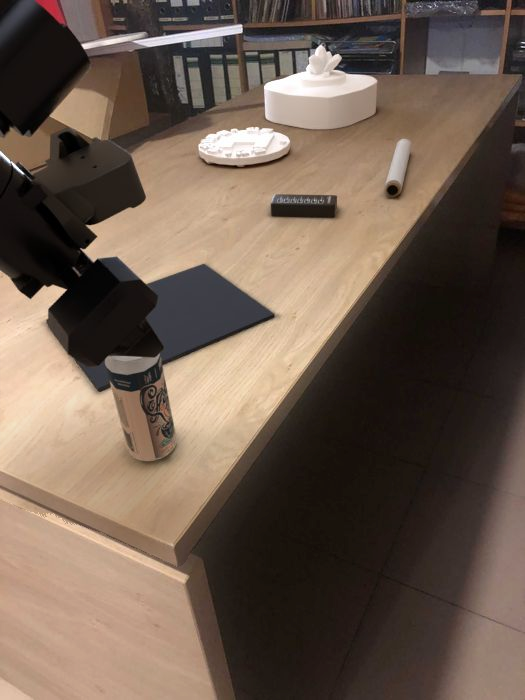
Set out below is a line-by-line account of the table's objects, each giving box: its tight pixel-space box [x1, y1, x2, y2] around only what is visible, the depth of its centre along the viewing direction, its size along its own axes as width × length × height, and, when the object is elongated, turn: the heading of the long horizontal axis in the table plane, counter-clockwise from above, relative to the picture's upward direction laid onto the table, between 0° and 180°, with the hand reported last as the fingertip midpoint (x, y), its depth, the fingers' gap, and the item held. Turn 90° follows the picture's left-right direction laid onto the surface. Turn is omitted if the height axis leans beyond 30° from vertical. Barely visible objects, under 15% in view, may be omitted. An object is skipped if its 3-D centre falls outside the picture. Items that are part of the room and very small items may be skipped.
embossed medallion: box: [198, 126, 291, 168], centre depth 130 cm, size 20×20×3 cm
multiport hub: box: [270, 193, 338, 219], centre depth 102 cm, size 4×11×2 cm, turn 79°
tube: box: [384, 138, 412, 198], centre depth 114 cm, size 3×3×25 cm
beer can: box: [105, 354, 177, 462], centre depth 55 cm, size 5×5×12 cm
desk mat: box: [45, 263, 275, 392], centre depth 77 cm, size 24×18×1 cm
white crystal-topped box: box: [263, 44, 378, 131], centre depth 149 cm, size 25×25×16 cm
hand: (132, 322), depth 48 cm, fingers open, 9 cm apart
